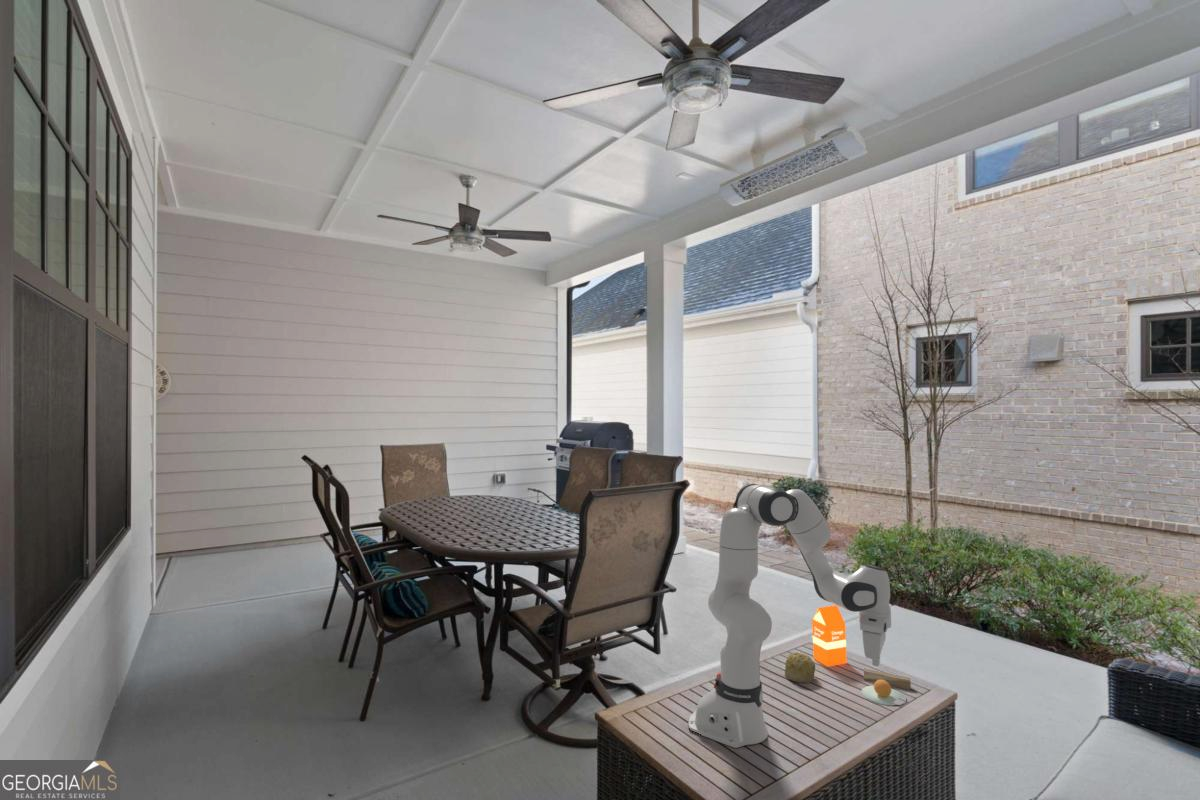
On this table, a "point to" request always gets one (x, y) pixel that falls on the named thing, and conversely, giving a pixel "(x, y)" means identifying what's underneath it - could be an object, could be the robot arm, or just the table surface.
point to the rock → (799, 668)
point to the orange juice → (829, 636)
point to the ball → (882, 688)
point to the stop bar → (887, 678)
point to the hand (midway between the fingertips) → (876, 664)
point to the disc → (874, 697)
